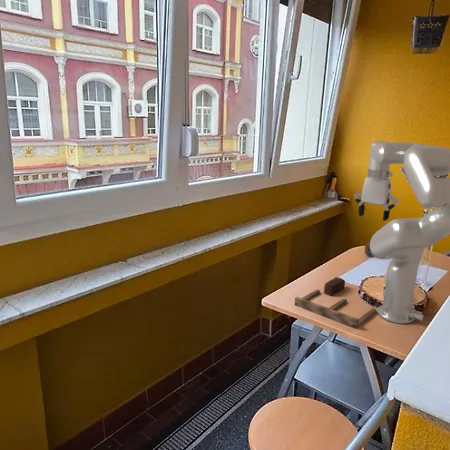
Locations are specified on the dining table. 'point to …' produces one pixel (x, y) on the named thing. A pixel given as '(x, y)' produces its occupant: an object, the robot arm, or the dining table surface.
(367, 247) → the tin
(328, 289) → the brick
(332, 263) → the dining table surface
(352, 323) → the lane rack
